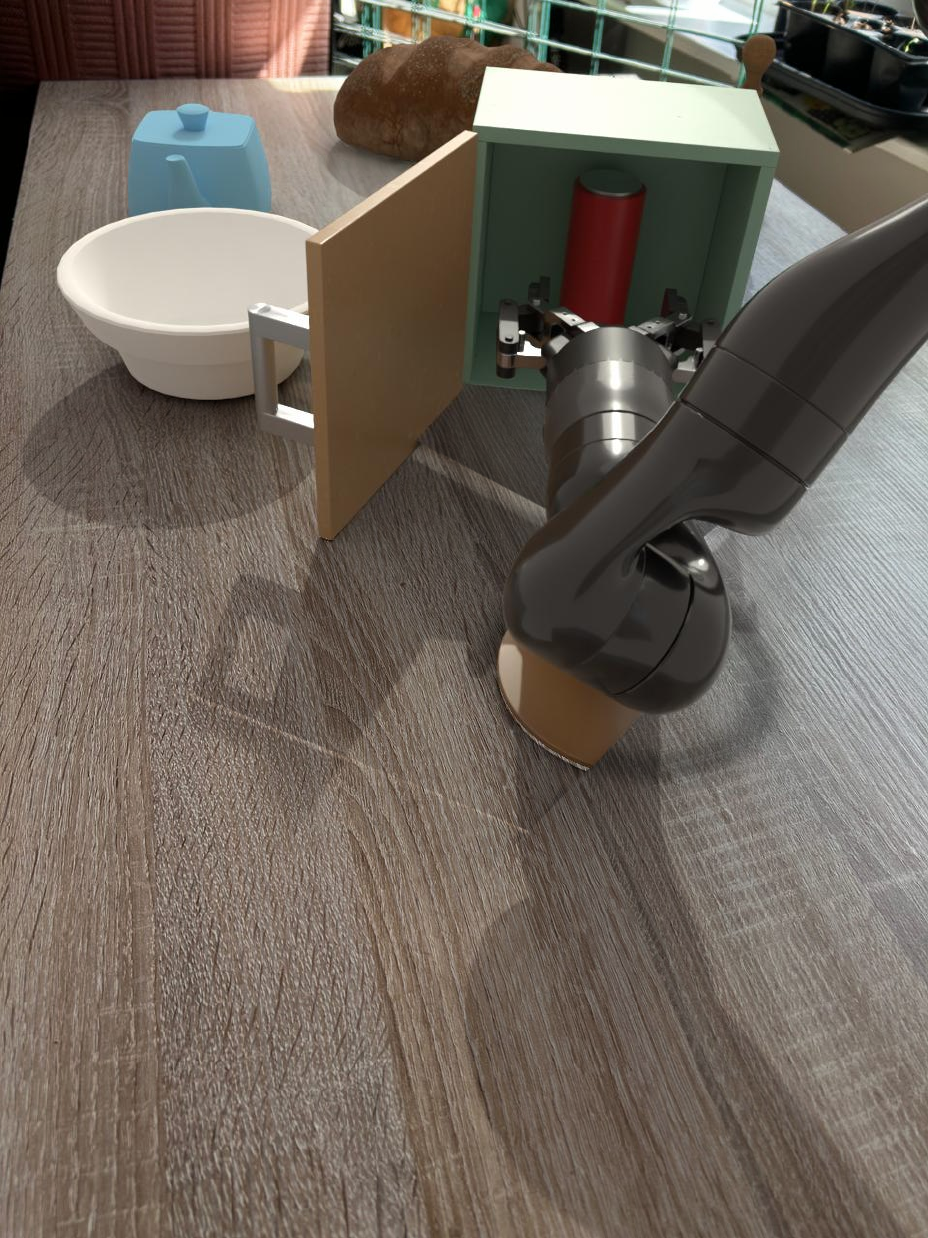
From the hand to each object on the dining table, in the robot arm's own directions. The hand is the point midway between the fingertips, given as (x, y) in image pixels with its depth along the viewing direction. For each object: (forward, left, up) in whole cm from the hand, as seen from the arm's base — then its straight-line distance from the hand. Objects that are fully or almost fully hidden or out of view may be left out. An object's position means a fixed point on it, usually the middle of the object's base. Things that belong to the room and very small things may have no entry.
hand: (605, 294), depth 73 cm
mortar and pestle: (-41, -12, -11) cm, 44 cm away
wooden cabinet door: (+14, -10, -11) cm, 20 cm away
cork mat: (+20, +17, -11) cm, 28 cm away
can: (-9, -6, -10) cm, 15 cm away
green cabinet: (-8, -6, -11) cm, 15 cm away
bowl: (+13, -27, -11) cm, 32 cm away
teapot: (-1, -45, -11) cm, 46 cm away
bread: (-38, -44, -11) cm, 59 cm away
